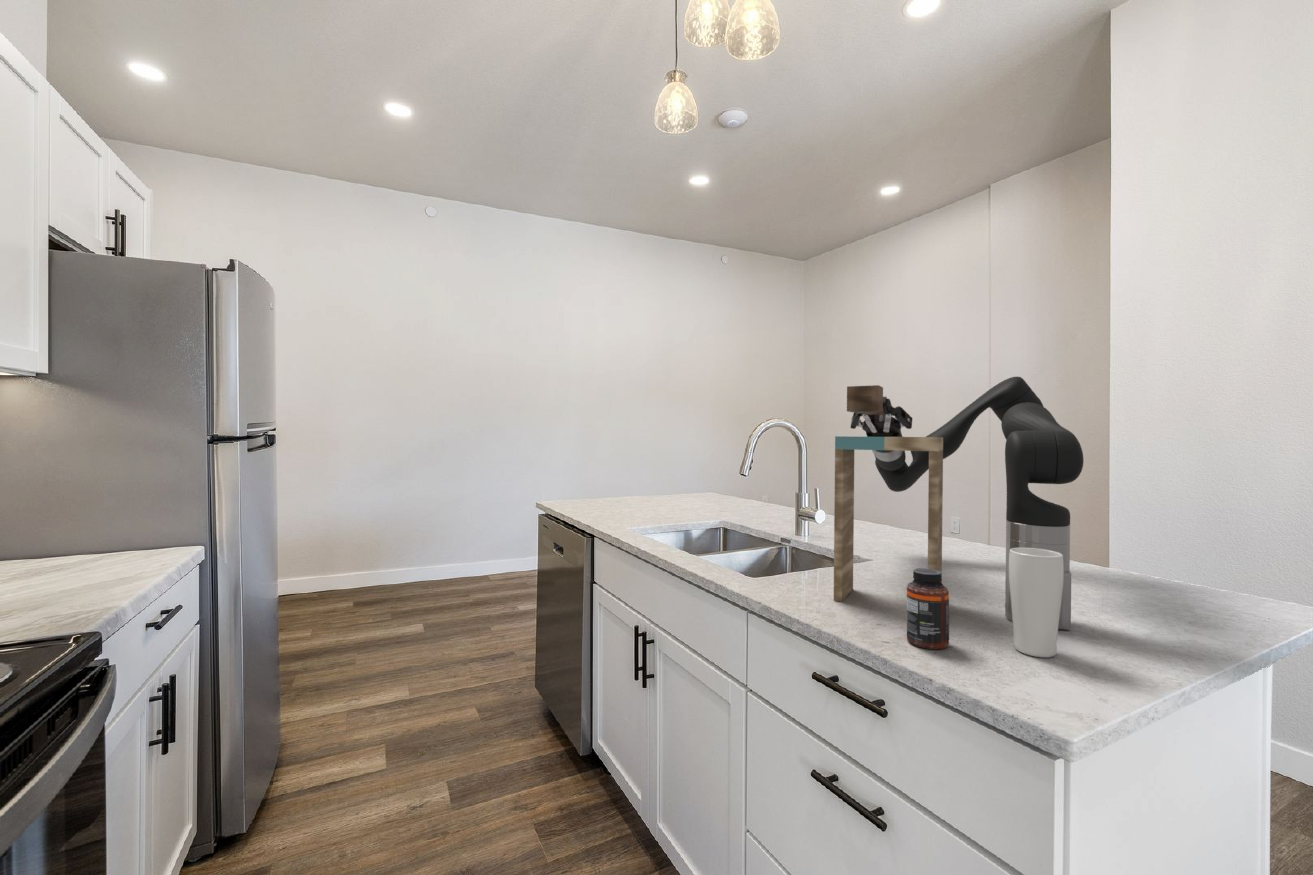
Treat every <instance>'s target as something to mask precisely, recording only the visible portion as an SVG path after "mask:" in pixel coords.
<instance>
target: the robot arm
mask: <svg viewBox="0 0 1313 875" xmlns="http://www.w3.org/2000/svg"><path fill="white" fill-rule="evenodd" d="M989 408H990V409H991V410H992V412H993V413H994V414H995V415H996V417H997V418H998V420H1000V422H1001V424H1000V425H1001V432H1002V434H1003V436H1004V439H1005V446H1004V463H1005V476H1006V484H1005V485H1006V509H1005V510H1006V512H1005V514H1006V515H1005V525H1006V526H1005V529H1006V530H1005V591H1004V592H1005V598H1004V601H1005V602H1004V608H1005V609H1004V616H1005V618H1007V619H1008V620H1009V621H1011V622H1013V620H1012V608H1011V597H1010V586H1009V553H1010V549H1012V548H1036V549H1044V550H1050V551H1055V552H1058V553H1061V554H1062V555H1063V566H1064V579H1063V591H1062V600H1061V608H1060V617H1059V625H1058V630H1067V631H1071V629H1072V628H1071V627H1072V626H1071V625H1072V624H1071V623H1072V572H1071V570H1070V565H1071V564H1070V562H1071V560H1070V558H1071V556H1070V555H1071V512H1070V510H1069V509H1068V508H1067V507H1065V506H1063V505H1060V504H1057V503H1055V502H1051V501H1048V500H1046V499H1044V498H1041V497H1040V496H1038V495H1035V493H1033V492H1032V491H1031V490H1030V489H1029V484H1038V485H1039V484H1045V485H1065V484H1069V483H1072V482H1074V481H1076V480H1077V479H1078V478H1079V477H1080V475H1081V473H1082V470H1083V468H1084V453H1083V449H1082V446H1081V444H1080V442H1079V440H1078V438H1077V436H1076V435H1075V434H1074V433H1073V432H1071V430H1069V429H1067V428H1065V427H1064V426H1062V425H1061V424H1059V422H1057V420H1056V418H1055V417H1054V416H1053V415H1052V412H1050V411H1049V410H1048V409H1047V408H1046V407H1044V404H1043V402H1042V400H1041V399H1040V398H1039V397H1038V395H1037V394H1036V393H1035V391H1034V390H1032V388H1031V386H1029V384H1028V383H1027V382H1026V380H1025V379H1024V378H1023V377H1021V376H1011V377H1009V378H1006V379H1004V380H1002V381H1001V382H999V383H997V384H996V385H994V386H993V387H991V388H990V389H988V390H987V391H985V392H984V393H982V394H981V395H980V396H979V397H978V398H976V399H975V400H974V401H973V402H971V403H970V404H969V405H967V406H966V407H965V408H963V409H962V410H961V411H960V412H959V413H957V414H955V416H953V417H952V418H951V419H950V420H949V421H947V422H946V423H945V424H943V425H942V426H940V427H939V428H938V429H936V430H935V431H933V432H931V433H929V434H928V435H926V436H925V437H943V460H946V458H948V457H950V456H952V455H953V454H954V453H955V452H957V450H959V448H961V446H962V444H963V442H964V440H966V437H967V435H968V433H969V431H970V429H971V427H972V426H973V424H974V422H975V421H976V420H977V419H978V418H979V416H980V415H981V414H982V413H984V412H985V411H986V410H988V409H989ZM883 409H884V413H886V415H869V414H864V413H860V412H853V414H852V417H851V420H850V429H852V430H854V429H856V428H857V427H858V428H862V430H863V431H864V432H865V434H866V437H904V436H903V434H902V428H904V427H905V429H908V430H911V429H912V428H913V417H912V416H911V415H910V414H909V413H908V412H907V411H905V409H904V408H903V407H901V406H899V405H898V406H895V407H894V406H893V405H892V402H891V399H890V398H888V397H887V396H883ZM861 417H862V418H863V419H864V420H863V421H862V419H861ZM871 451H872V453H873V455H874V458H875V460H874V464H875V466H876V469H877V470H878V473H879V474H880V476H881V478H882V480H883V481H884V483H885V484H886V487H887V488H888V489H889V490H890V491H892V492H895V493H896V492H899V493H900V492H904V491H906V490H908V489H910V488H911V487H912V486H913V485H914V484H916V483H917V481H918V480H919V479H920V478H921V477H922V476H923V475H924V474H925V473H927V471H929V451H910V454H911V457H912V460H911V462H910V464H909V465H908V464H907V461H906V457H907V456H906V451H899V450H871Z"/></svg>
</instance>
